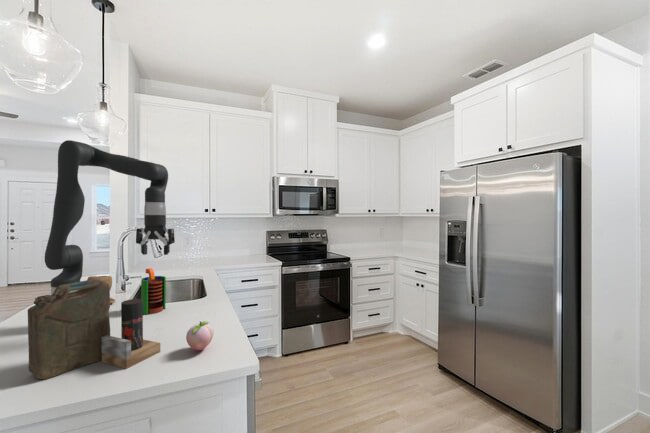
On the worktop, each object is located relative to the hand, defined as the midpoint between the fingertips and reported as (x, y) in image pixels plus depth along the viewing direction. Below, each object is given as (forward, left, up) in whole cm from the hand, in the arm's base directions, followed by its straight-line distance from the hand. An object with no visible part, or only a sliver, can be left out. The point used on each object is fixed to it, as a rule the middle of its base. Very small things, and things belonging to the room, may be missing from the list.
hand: (155, 254), depth 123 cm
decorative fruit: (+25, -18, -30) cm, 43 cm away
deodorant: (+5, -23, -27) cm, 36 cm away
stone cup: (-47, +30, -30) cm, 63 cm away
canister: (-10, -29, -30) cm, 43 cm away
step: (+5, -23, -30) cm, 38 cm away
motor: (-14, +22, -30) cm, 40 cm away
